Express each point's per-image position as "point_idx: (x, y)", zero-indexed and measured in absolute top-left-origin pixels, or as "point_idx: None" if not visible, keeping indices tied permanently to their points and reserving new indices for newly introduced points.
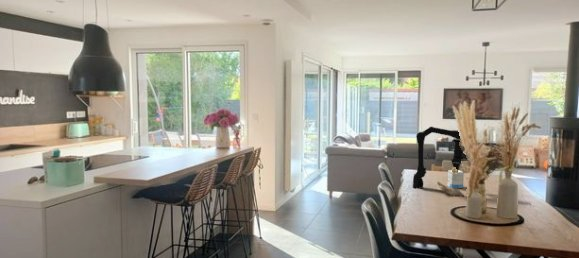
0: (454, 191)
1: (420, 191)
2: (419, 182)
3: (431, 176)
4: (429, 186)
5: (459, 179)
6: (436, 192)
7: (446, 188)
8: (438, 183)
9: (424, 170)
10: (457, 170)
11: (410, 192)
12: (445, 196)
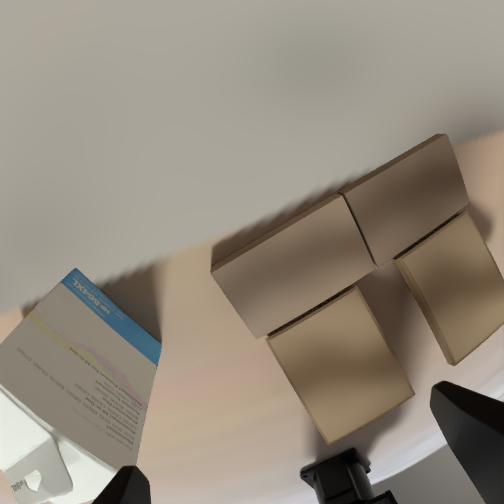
0: (375, 247)
1: None
2: (368, 484)
3: (7, 482)
4: (254, 457)
5: (75, 346)
6: (418, 349)
7: (440, 306)
8: (384, 411)
9: None
10: (479, 395)
11: None
12: (489, 250)
